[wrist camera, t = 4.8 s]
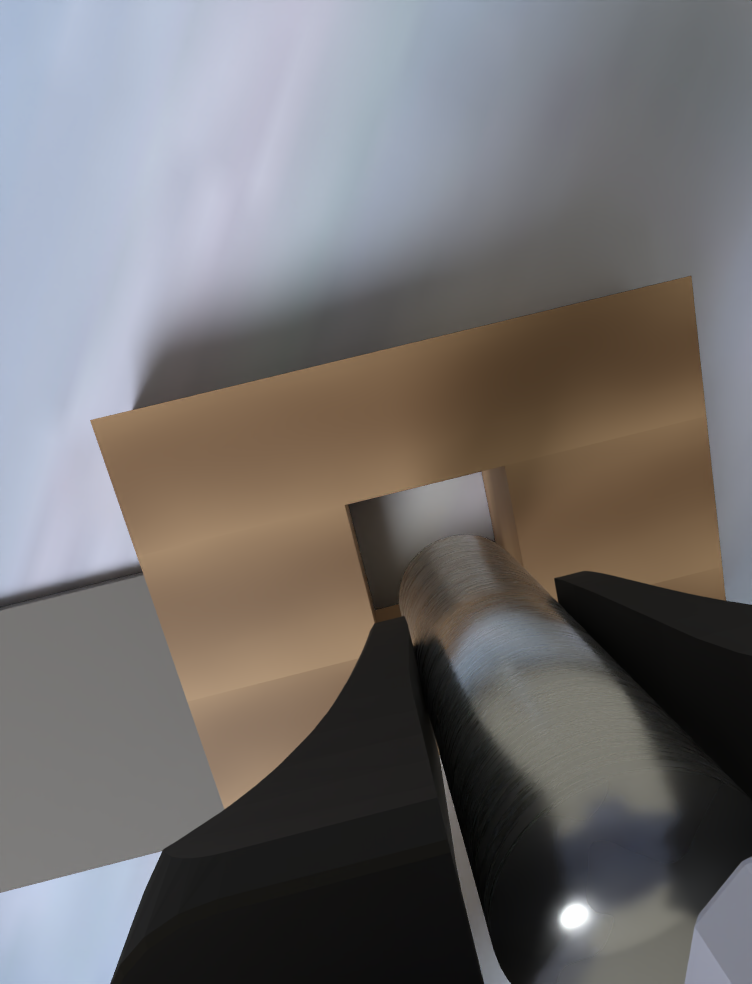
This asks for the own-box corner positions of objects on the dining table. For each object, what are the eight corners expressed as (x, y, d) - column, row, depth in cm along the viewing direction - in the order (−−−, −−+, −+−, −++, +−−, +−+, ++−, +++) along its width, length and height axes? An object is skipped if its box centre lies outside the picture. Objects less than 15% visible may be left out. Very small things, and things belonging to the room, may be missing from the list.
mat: (237, 823, 21) (235, 832, 20) (-35, 893, 20) (-42, 903, 20) (150, 570, 18) (146, 574, 18) (-154, 645, 18) (-165, 651, 18)
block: (676, 635, 20) (734, 679, 17) (240, 745, 20) (225, 810, 17) (632, 292, 18) (691, 275, 15) (131, 412, 17) (89, 419, 14)
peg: (529, 643, 14) (785, 997, 6) (407, 663, 14) (504, 1052, 6) (518, 525, 13) (790, 746, 5) (390, 545, 13) (475, 801, 5)
